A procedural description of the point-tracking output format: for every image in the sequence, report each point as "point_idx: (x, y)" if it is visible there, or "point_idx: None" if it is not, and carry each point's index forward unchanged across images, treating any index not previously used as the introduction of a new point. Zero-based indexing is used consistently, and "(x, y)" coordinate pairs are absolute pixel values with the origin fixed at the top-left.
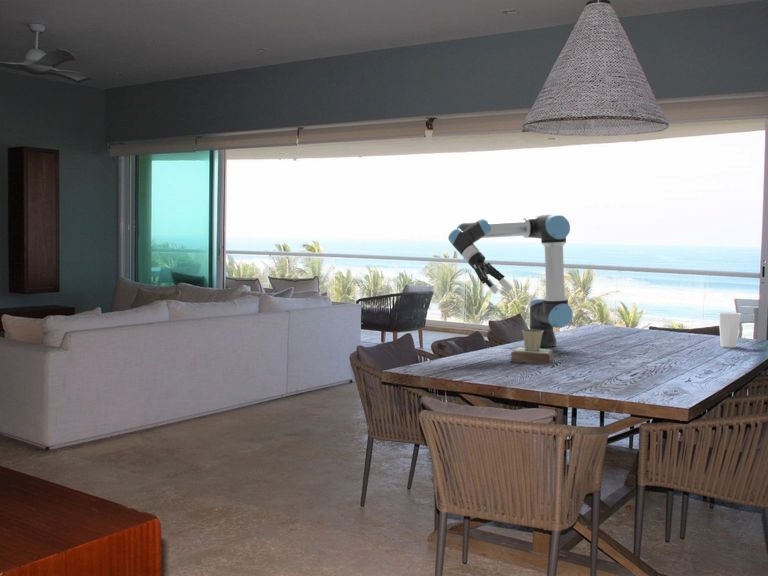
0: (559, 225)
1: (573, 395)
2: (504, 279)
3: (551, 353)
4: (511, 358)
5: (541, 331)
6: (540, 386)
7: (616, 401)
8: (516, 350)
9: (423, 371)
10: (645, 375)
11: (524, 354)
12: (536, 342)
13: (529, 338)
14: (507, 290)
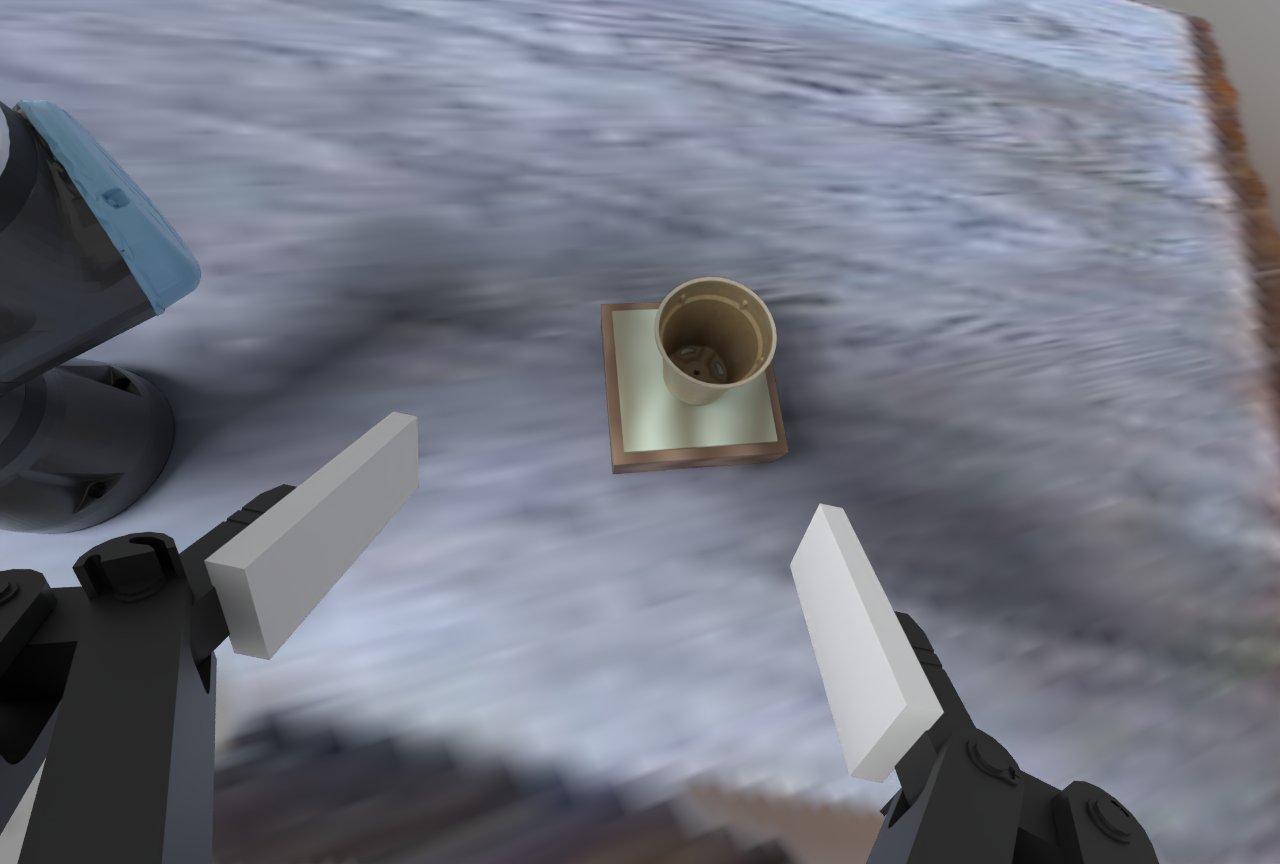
0: None
1: (1235, 200)
2: (253, 526)
3: None
4: (777, 457)
5: (739, 283)
6: (1186, 284)
7: (1225, 120)
8: (740, 437)
9: (1238, 736)
10: (819, 62)
11: (776, 397)
12: (732, 334)
13: (752, 356)
14: (408, 485)
